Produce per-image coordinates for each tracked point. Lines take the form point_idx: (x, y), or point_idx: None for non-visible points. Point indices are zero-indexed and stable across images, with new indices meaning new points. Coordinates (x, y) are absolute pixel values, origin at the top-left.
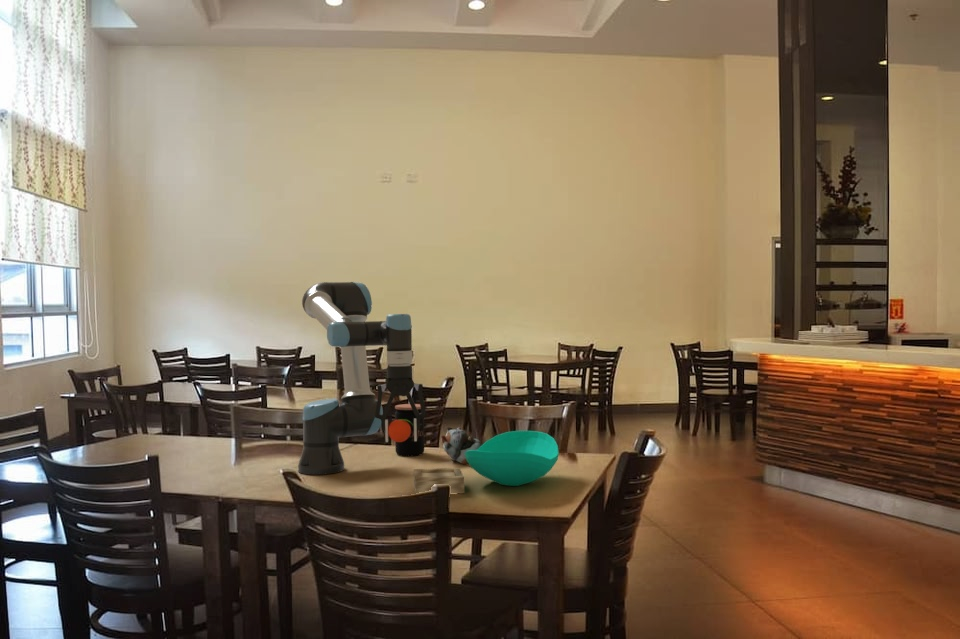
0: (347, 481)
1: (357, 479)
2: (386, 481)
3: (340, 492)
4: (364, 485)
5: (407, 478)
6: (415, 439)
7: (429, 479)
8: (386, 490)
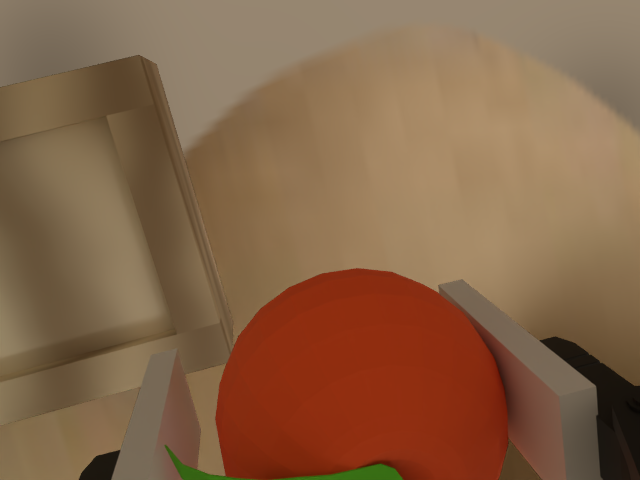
0: None
1: None
2: None
3: (590, 114)
4: (496, 284)
5: None
6: (162, 361)
7: (43, 79)
8: (357, 182)
